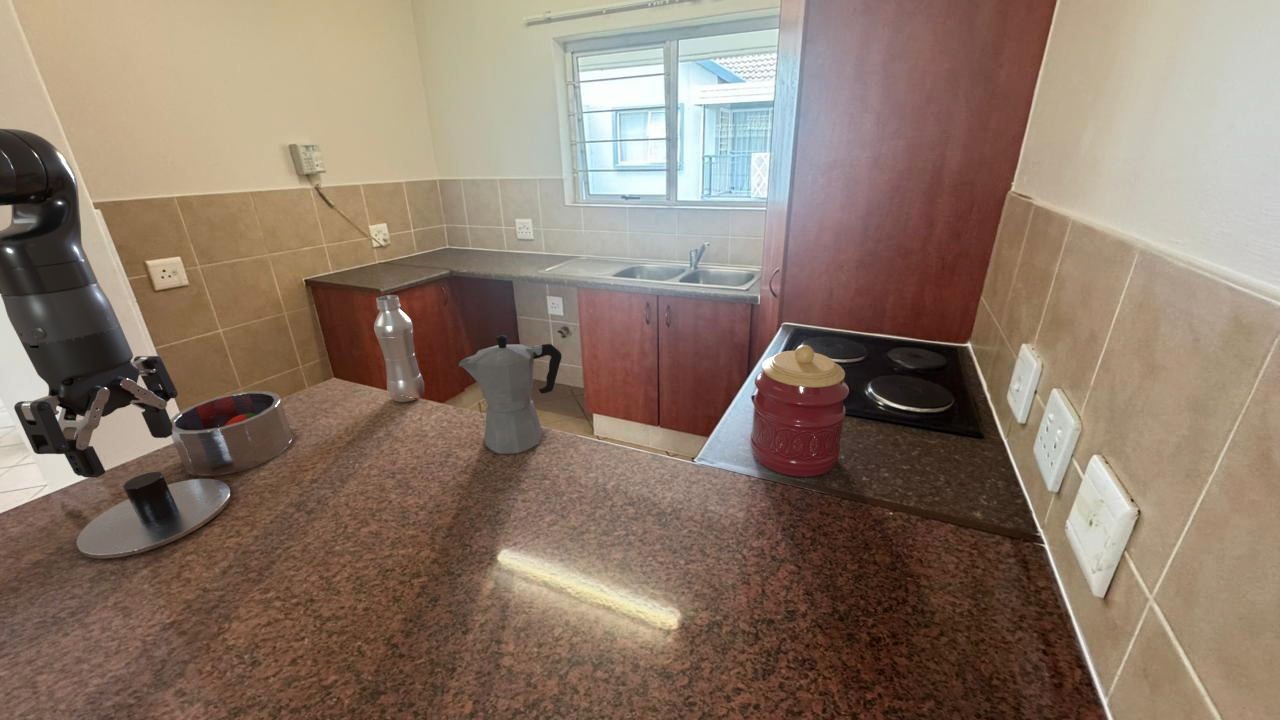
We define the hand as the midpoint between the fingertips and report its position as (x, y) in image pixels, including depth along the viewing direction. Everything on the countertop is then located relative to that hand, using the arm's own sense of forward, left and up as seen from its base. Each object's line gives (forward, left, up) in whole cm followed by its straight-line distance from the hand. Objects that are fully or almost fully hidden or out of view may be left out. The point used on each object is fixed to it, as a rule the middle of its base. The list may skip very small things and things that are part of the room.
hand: (130, 454), depth 61 cm
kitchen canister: (+85, +16, -10) cm, 87 cm away
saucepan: (-2, +16, -10) cm, 19 cm away
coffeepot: (+42, +21, -10) cm, 47 cm away
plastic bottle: (+16, +35, -10) cm, 40 cm away
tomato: (-1, +17, -7) cm, 18 cm away
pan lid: (0, 0, -9) cm, 9 cm away
